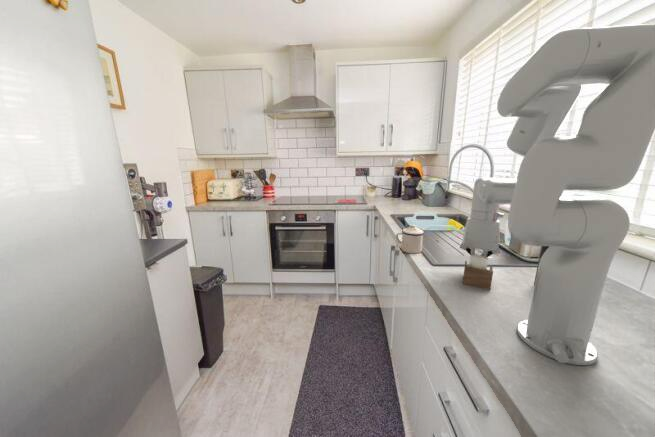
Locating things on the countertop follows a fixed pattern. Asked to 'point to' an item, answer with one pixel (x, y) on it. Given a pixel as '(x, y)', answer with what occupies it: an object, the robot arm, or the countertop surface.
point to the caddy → (477, 277)
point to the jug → (478, 261)
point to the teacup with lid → (411, 239)
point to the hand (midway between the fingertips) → (476, 267)
